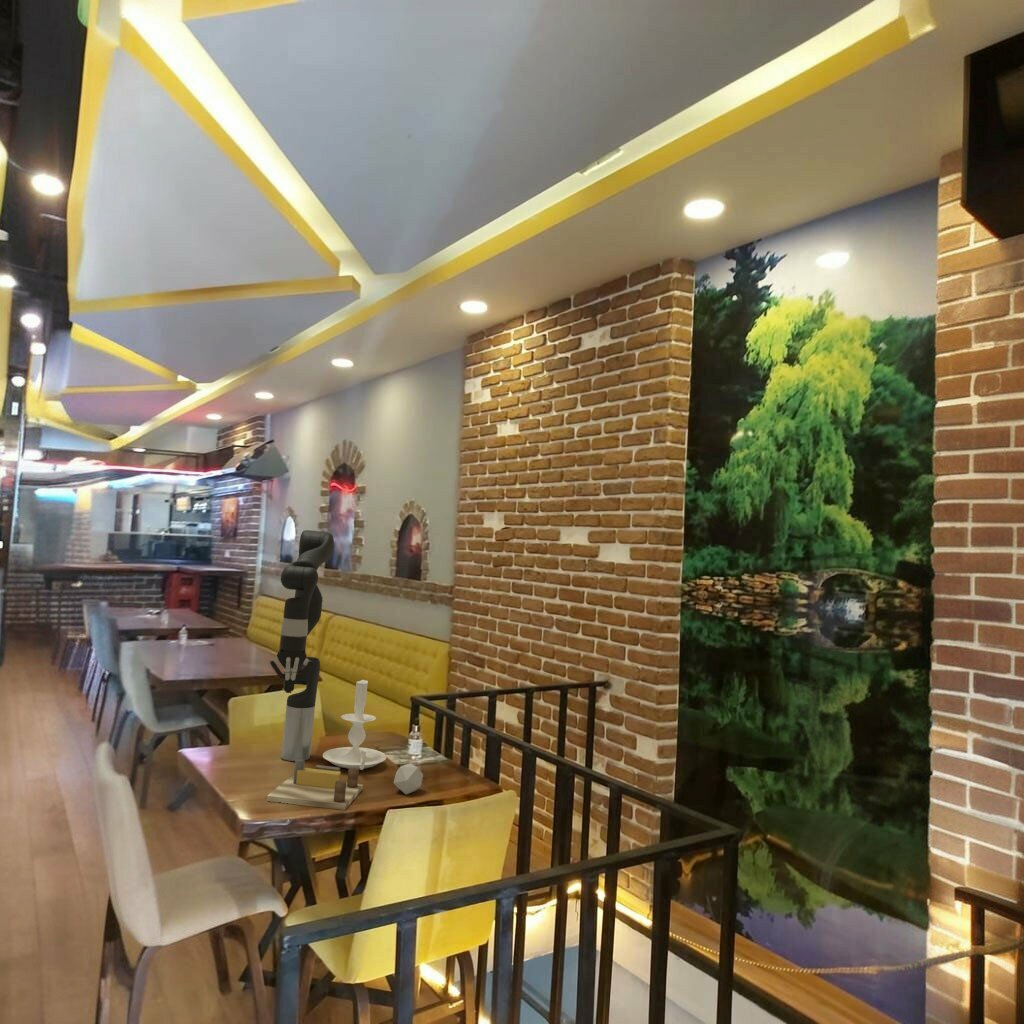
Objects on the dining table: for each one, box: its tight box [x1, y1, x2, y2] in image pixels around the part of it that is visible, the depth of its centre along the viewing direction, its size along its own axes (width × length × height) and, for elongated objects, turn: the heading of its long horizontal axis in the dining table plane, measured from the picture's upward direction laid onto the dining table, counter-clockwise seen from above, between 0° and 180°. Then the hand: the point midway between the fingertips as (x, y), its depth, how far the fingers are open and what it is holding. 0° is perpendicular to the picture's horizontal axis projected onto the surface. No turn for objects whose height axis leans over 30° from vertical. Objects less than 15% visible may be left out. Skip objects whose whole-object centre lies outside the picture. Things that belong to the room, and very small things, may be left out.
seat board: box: [266, 764, 364, 811], centre depth 216 cm, size 18×22×6 cm
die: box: [393, 762, 424, 796], centre depth 226 cm, size 8×9×10 cm
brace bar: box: [293, 759, 342, 789], centre depth 220 cm, size 13×3×6 cm, turn 86°
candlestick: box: [322, 679, 387, 771], centre depth 246 cm, size 21×25×28 cm
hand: (288, 692), depth 223 cm, fingers closed
